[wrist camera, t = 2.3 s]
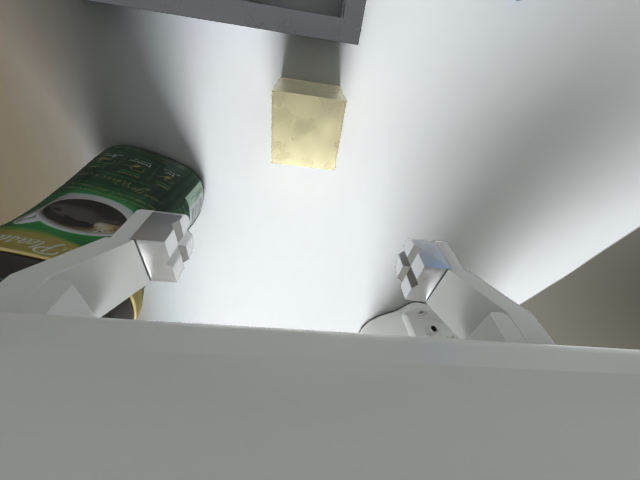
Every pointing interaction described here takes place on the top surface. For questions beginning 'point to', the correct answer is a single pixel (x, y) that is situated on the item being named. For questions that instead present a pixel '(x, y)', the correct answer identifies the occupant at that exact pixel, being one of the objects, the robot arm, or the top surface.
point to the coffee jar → (100, 210)
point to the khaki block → (306, 123)
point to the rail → (263, 16)
